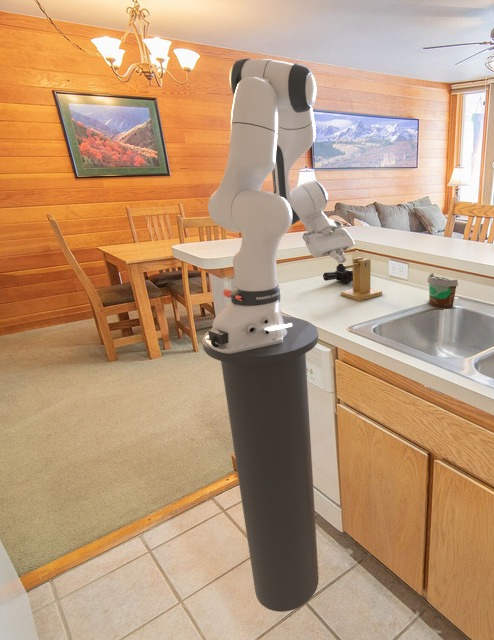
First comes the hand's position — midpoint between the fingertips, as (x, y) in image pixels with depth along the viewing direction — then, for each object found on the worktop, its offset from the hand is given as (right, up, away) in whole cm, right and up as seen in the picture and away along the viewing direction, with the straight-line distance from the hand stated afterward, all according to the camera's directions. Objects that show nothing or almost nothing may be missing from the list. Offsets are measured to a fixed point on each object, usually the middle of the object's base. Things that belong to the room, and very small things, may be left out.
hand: (342, 261), depth 154 cm
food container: (+34, -15, +2) cm, 37 cm away
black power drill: (0, -3, +27) cm, 27 cm away
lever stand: (+6, -10, +12) cm, 17 cm away
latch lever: (+3, -2, +4) cm, 5 cm away
